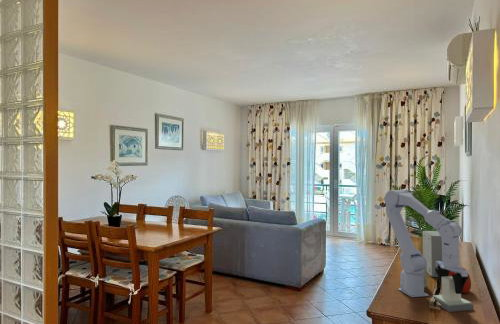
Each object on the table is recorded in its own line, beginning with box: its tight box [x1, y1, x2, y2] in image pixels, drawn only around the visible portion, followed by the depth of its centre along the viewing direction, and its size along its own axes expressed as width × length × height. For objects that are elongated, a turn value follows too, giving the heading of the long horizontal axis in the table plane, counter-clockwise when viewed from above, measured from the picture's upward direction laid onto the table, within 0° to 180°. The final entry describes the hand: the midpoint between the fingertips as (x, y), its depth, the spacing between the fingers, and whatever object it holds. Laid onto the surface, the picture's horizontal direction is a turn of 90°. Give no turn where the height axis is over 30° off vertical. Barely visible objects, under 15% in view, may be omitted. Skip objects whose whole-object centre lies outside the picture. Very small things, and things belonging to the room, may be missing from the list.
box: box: [424, 267, 428, 288], centre depth 156 cm, size 5×4×11 cm
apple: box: [448, 266, 472, 294], centre depth 150 cm, size 11×11×11 cm
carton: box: [441, 276, 462, 301], centre depth 134 cm, size 4×5×8 cm
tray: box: [430, 294, 474, 313], centre depth 134 cm, size 10×10×2 cm
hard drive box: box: [422, 230, 442, 278], centre depth 175 cm, size 16×8×20 cm, turn 168°
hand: (451, 289), depth 134 cm, fingers open, 7 cm apart
